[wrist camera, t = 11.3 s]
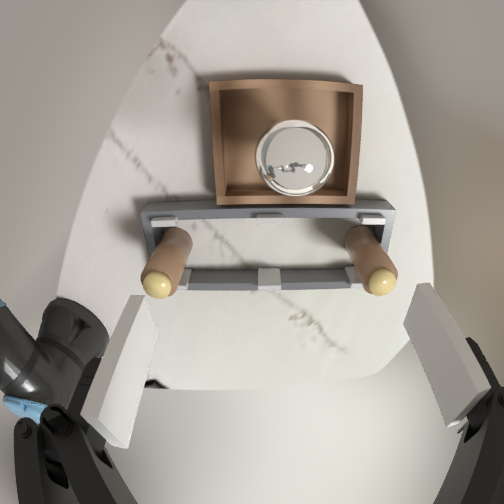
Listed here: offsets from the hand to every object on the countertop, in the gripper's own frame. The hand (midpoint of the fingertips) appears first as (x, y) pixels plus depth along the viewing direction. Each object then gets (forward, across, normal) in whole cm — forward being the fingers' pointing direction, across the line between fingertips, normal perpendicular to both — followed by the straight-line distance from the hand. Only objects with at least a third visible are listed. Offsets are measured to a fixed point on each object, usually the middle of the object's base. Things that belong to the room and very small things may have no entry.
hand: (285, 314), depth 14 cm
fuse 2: (+24, +12, -10) cm, 29 cm away
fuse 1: (+24, -12, -10) cm, 29 cm away
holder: (+24, 0, -10) cm, 26 cm away
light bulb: (+24, +2, +4) cm, 24 cm away
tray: (+24, +2, +4) cm, 25 cm away
